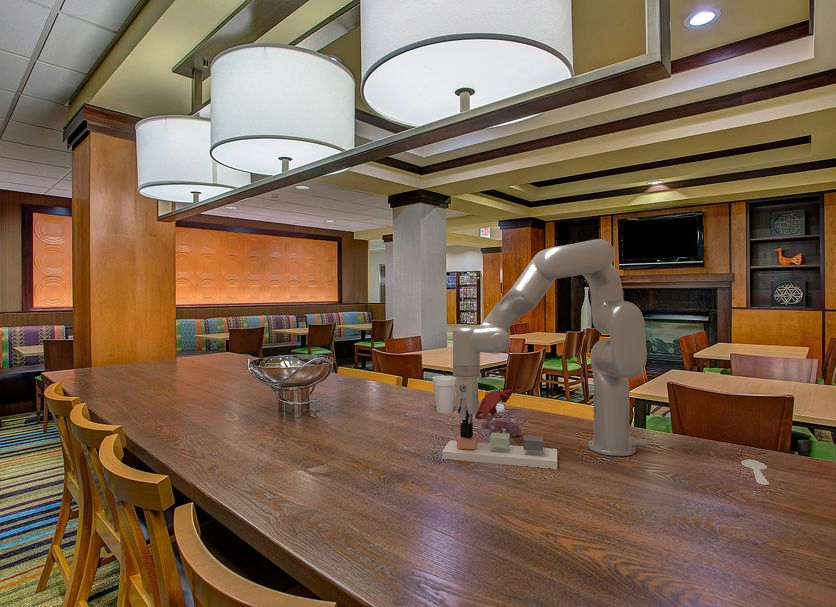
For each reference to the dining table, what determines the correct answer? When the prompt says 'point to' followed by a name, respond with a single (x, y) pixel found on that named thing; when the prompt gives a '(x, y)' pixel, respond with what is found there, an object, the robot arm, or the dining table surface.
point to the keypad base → (502, 455)
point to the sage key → (499, 440)
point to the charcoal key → (533, 442)
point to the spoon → (756, 470)
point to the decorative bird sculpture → (492, 402)
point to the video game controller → (504, 426)
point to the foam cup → (444, 393)
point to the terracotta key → (467, 442)
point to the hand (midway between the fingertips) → (466, 436)
